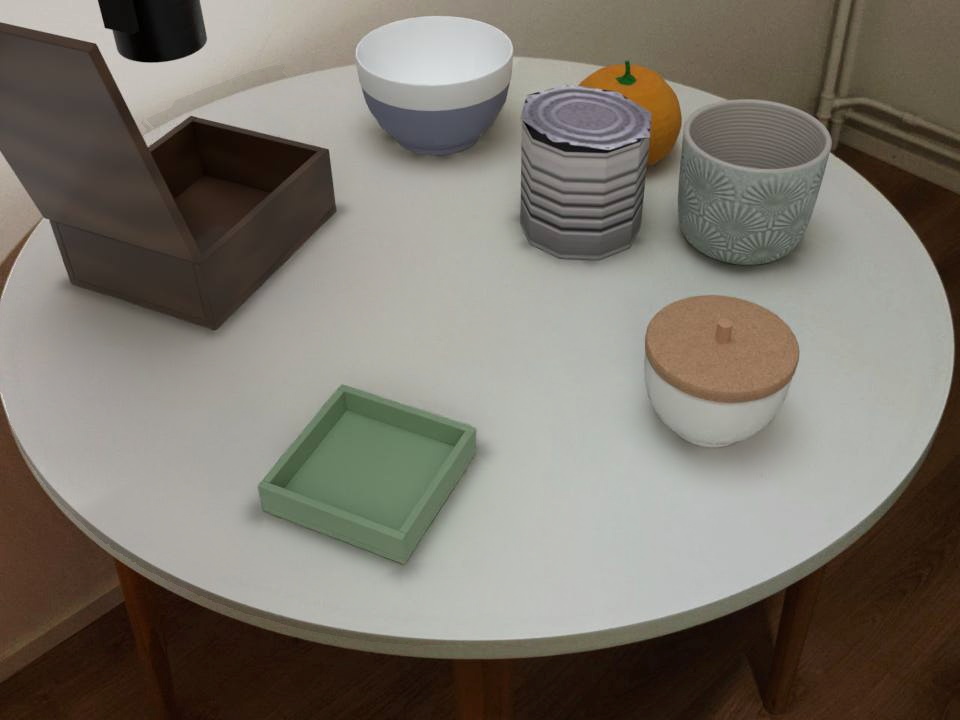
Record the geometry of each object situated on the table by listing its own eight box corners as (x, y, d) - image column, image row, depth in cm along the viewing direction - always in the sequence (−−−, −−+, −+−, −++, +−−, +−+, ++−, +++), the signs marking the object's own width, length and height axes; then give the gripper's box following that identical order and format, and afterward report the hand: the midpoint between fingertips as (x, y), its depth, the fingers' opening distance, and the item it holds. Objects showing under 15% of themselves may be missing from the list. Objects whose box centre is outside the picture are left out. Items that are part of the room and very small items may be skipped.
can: (522, 190, 103) (524, 77, 96) (639, 194, 103) (650, 81, 95) (516, 259, 95) (517, 141, 87) (643, 264, 94) (656, 145, 86)
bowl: (332, 145, 110) (322, 59, 104) (421, 85, 120) (417, 3, 114) (457, 189, 104) (454, 101, 97) (540, 122, 114) (543, 37, 107)
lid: (-84, 2, 72) (-93, 10, 71) (96, 43, 67) (88, 51, 66) (50, 210, 88) (43, 218, 88) (202, 255, 83) (196, 264, 83)
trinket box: (807, 453, 77) (834, 356, 70) (671, 485, 75) (686, 388, 68) (740, 359, 84) (759, 265, 78) (615, 386, 82) (624, 291, 76)
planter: (786, 294, 91) (812, 185, 83) (650, 256, 95) (663, 150, 88) (821, 221, 99) (847, 116, 92) (694, 189, 103) (709, 87, 96)
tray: (404, 564, 70) (402, 539, 68) (262, 510, 73) (256, 485, 72) (476, 452, 77) (476, 427, 75) (344, 408, 81) (341, 383, 79)
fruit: (542, 139, 111) (545, 50, 104) (639, 115, 114) (647, 27, 108) (598, 194, 103) (605, 101, 96) (699, 166, 106) (713, 75, 100)
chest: (203, 176, 106) (190, 115, 102) (336, 211, 101) (329, 148, 97) (70, 284, 93) (48, 219, 89) (215, 330, 88) (200, 265, 83)
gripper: (7, -311, 59) (107, 71, 74) (219, -360, 72) (267, -28, 88) (-91, -320, 61) (26, 53, 76) (132, -365, 75) (194, -42, 90)
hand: (155, 9), depth 82 cm, fingers closed on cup, 7 cm apart
